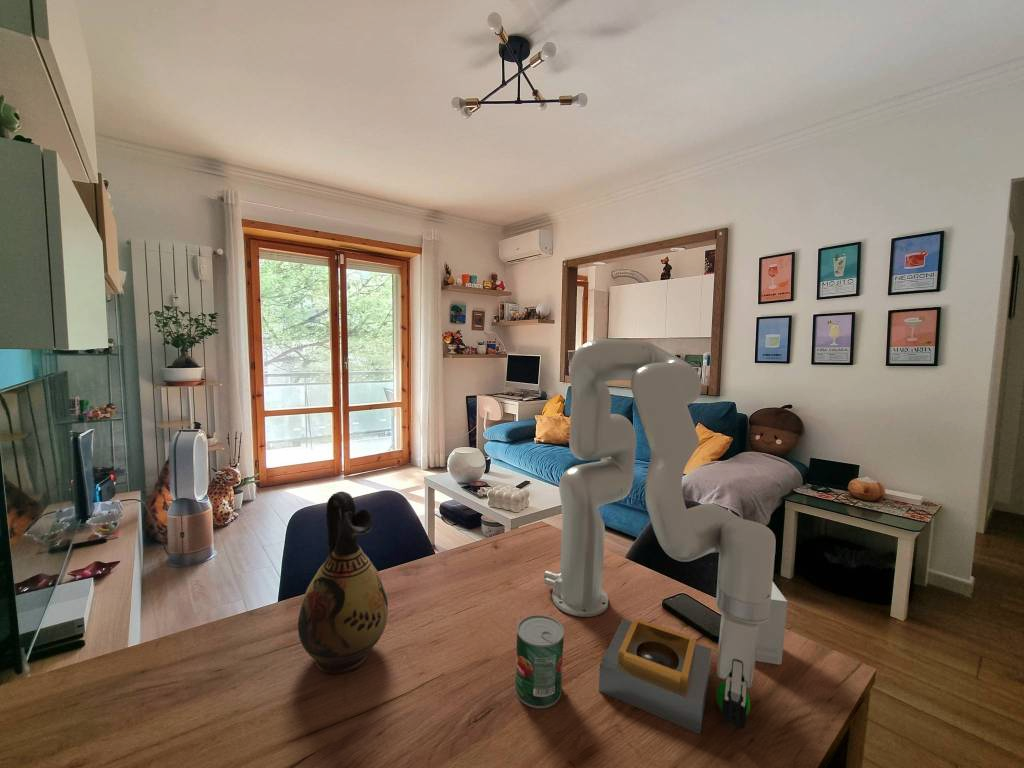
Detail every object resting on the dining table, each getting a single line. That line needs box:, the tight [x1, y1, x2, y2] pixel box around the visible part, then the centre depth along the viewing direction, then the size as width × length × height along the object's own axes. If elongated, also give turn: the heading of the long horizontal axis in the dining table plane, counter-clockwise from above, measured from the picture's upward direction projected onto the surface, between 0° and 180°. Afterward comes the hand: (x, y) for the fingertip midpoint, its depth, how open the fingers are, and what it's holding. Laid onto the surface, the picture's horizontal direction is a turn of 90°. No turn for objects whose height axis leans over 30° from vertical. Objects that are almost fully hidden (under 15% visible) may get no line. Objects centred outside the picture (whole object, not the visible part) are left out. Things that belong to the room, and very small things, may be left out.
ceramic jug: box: [297, 491, 389, 676], centre depth 81 cm, size 17×15×30 cm
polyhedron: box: [715, 680, 751, 717], centre depth 71 cm, size 5×5×5 cm
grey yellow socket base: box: [598, 618, 712, 735], centre depth 78 cm, size 16×17×7 cm
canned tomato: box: [514, 614, 565, 709], centre depth 75 cm, size 8×8×11 cm
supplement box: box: [755, 581, 788, 665], centre depth 86 cm, size 7×7×13 cm
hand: (734, 701), depth 71 cm, fingers open, 9 cm apart
